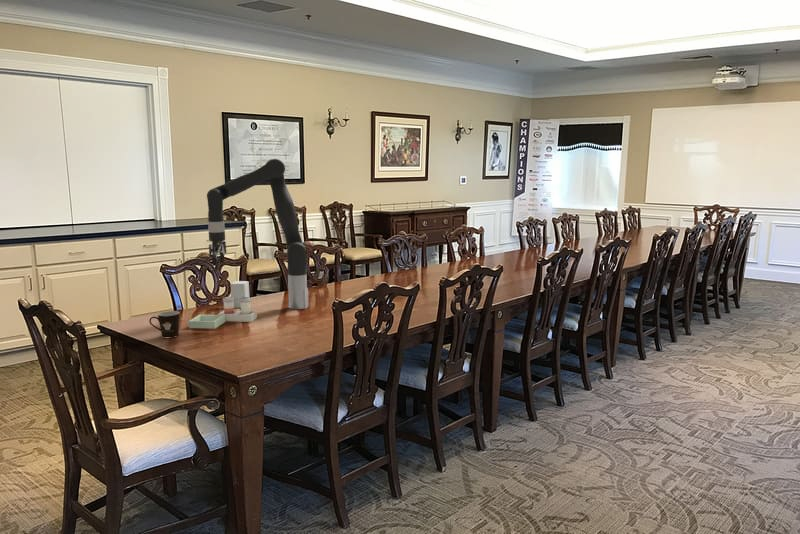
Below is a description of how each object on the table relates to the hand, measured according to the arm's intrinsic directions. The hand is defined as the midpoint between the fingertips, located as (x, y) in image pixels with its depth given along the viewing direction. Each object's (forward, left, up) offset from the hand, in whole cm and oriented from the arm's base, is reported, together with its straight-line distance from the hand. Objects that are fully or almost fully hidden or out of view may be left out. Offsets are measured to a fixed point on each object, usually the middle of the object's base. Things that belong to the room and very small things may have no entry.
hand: (218, 264), depth 299 cm
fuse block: (-14, +15, -24) cm, 31 cm away
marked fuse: (-10, +15, -23) cm, 29 cm away
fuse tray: (-4, +26, -24) cm, 35 cm away
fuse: (-18, +15, -23) cm, 33 cm away
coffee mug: (+7, +42, -24) cm, 49 cm away
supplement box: (-5, -14, -24) cm, 29 cm away
